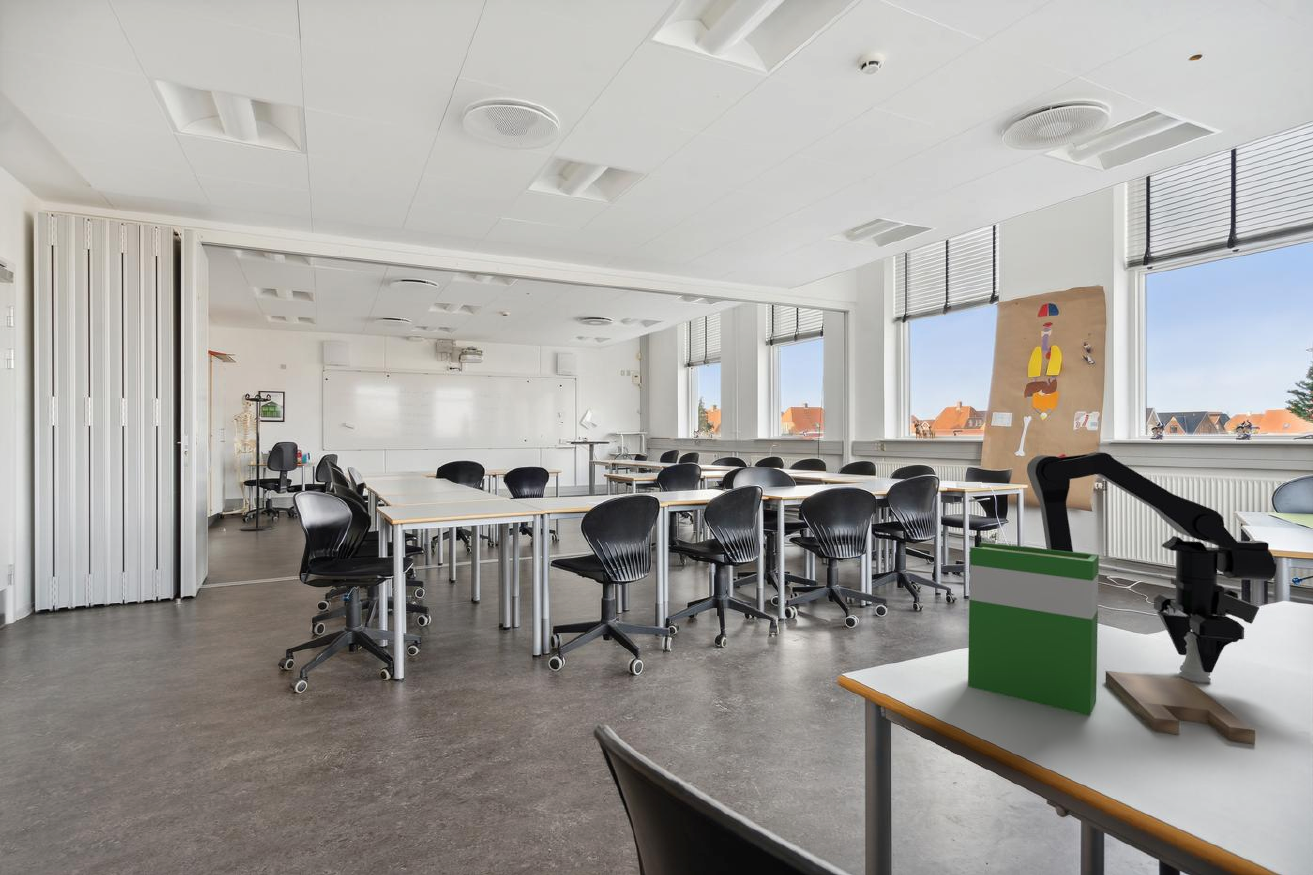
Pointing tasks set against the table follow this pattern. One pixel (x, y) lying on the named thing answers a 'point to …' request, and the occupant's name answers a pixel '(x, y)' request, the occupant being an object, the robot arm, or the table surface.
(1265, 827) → the table surface
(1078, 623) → the green open box
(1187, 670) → the rook chess piece
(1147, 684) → the notched board
